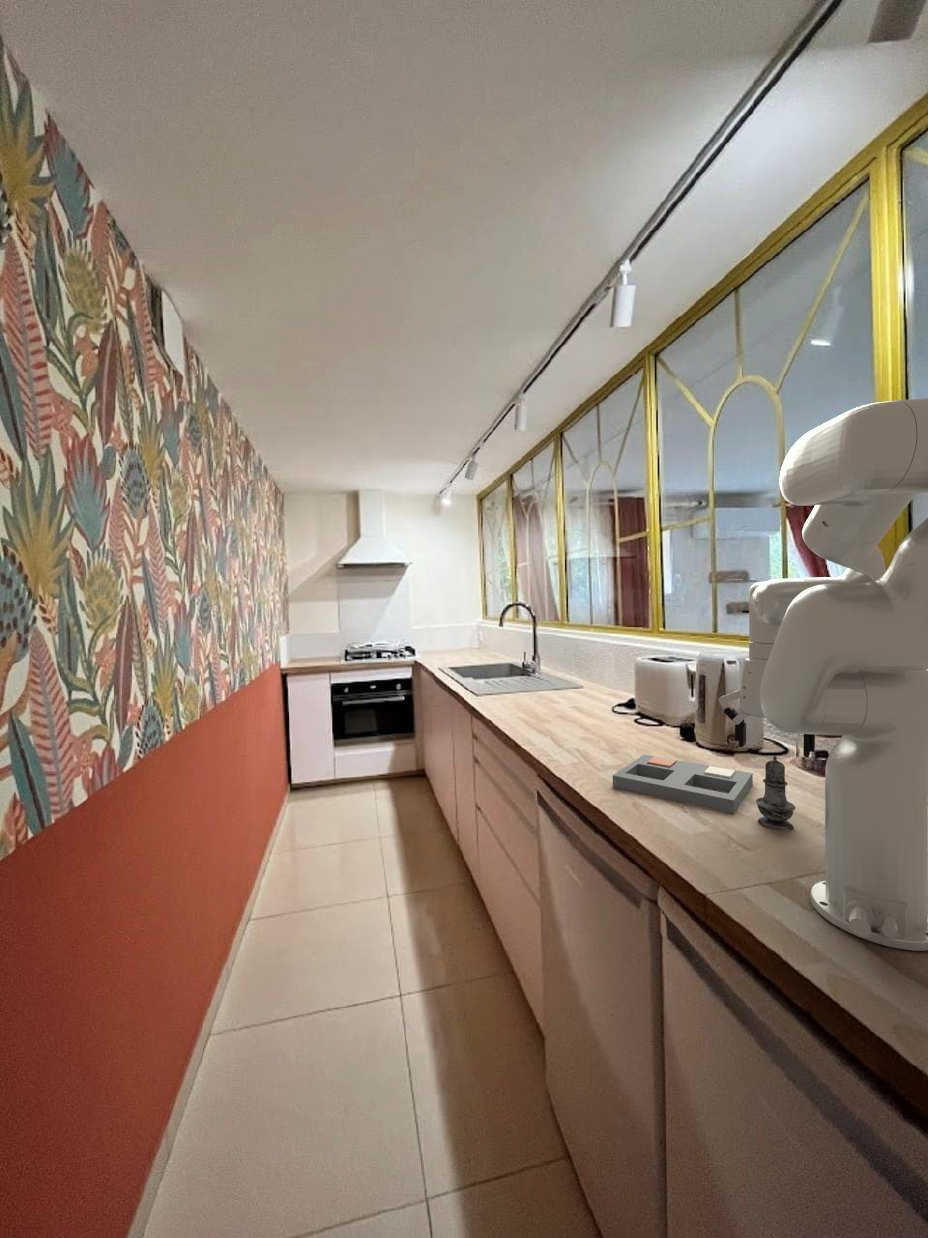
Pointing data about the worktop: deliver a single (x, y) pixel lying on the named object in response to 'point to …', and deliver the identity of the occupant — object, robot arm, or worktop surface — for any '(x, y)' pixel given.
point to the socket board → (685, 782)
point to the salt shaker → (775, 799)
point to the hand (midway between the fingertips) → (773, 750)
